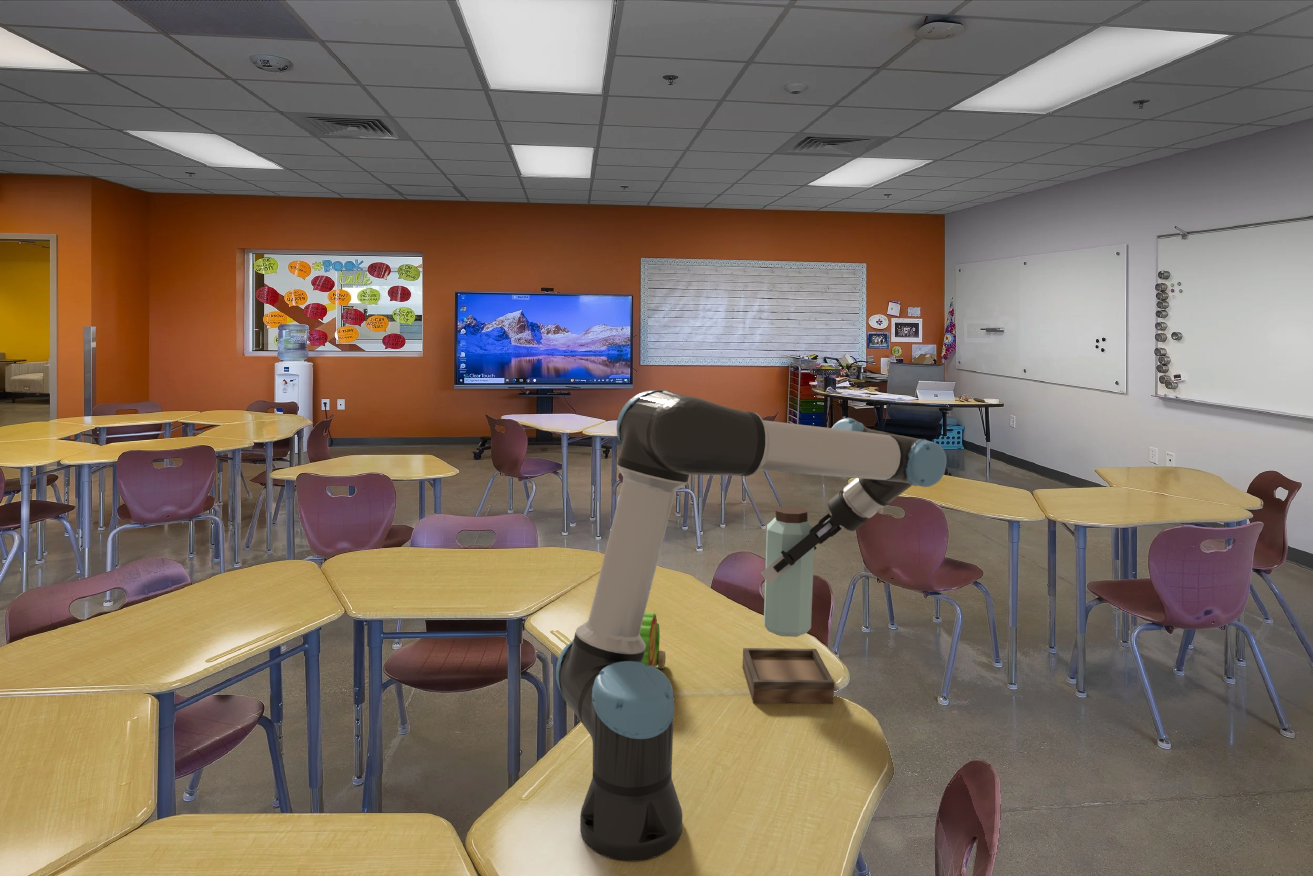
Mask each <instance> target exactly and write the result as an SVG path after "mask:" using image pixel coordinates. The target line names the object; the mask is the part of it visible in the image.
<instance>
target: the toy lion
mask: <svg viewBox="0 0 1313 876" xmlns="http://www.w3.org/2000/svg"><path fill="white" fill-rule="evenodd" d="M660 635H661V634H660V625H659V623H658V619H657V614H656V613H655V612H646V611H645V614H644V617H643V621H642V625H641V629H640V636H641V638H642V640H643V641H644V643H645V645H646V648H645V652H644V656H643V660H642V663H644V664H645V666H650V665H651V666H653V667H655V668H656V667H657V666H658V668H657V669H662V668H663V669H665V665H666V659H667V657H666V656H667V655H666V651H665V650H660Z"/></svg>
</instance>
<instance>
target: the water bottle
mask: <svg viewBox="0 0 1313 876" xmlns="http://www.w3.org/2000/svg"><path fill="white" fill-rule="evenodd" d="M774 509H775V516H774V518H773V519H772V520H770V522H769V523H767V524H766V537H765V538H766V543H765V548H766V549H765V569H766V568H767V567H768V566H770V565H771V564H772V563H773V562H774V561H776V560H777V559H778V558H779V557H780V556H782V553H781V552H782V551H784V552H788V551H789V550H790V549H791V548H793V547H794V546H795V545H796V544H798V543H799V542H800V541H801V540H802V539H804V538H805V537H806V536H807V535H809V531H810V530H811V529H812V528H813V527H814V526H813V524H811V522H810V521H809V520H808V510H807V508H803V507H799V506H791V505H790V506H788V505H782V506H778V507H775V508H774ZM814 556H815V550H814V547H813V548H812V549H811V550H810V551H808V552H807V553H806V554H805V555H803V556H802V557H801V558H800V559H799V560H797V561H796V562H795V564H794V565H792V566H791V567H790V568H788V569H787V570H786V571H785V572H783V573H782V574H781V575H780V576H778V577H777V578H776V579H775V580H773V581H772V582H771V583H770V584H769V583H768V582H767V580H766V579H765V578H764V606H763V607H764V608H763V611H764V612H763V623H764V627H765V629H766V631H768V632H770V633H772V634H774V635H776V636H779V637H790V638H792V637H793V638H797V637H800V636H803V635H805V634H807V633H808V632H809V631H810V630H811V629H812V615H813V614H812V613H813V611H812V608H813V607H812V606H813V587H814V586H813V585H814V583H813V582H814V564H815V563H814V561H815V558H814Z"/></svg>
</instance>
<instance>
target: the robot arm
mask: <svg viewBox="0 0 1313 876" xmlns="http://www.w3.org/2000/svg"><path fill="white" fill-rule="evenodd" d="M616 421H617V422H616V436H617V439H618V441H619V444H620V446H621V448H620V452H619V456H618V460H617V464H616V467H617V469H618V471H619V472H620V474H621V476H622V483H621V487H620V492H619V496H618V499H617V504H616V508H615V511H614V516H613V519H612V524H611V527H610V532H609V534H608V540H607V544H606V549H605V552H604V555H603V561H602V564H601V568H600V571H599V575H598V580H597V583H596V589H595V591H594V596H593V600H592V604H591V608H590V612H589V616H588V620H587V621H586V622H585V623H583V624H581V625H579V626H578V627H577V628H576V629H575V633H574V636H573V639H572V640H571V642H570V643H569V644H566V645H565V647H564V648H563V649H562V651H561V652H560V655H559V657H558V659H557V662H556V669H555V678H556V684H557V686H558V688H559V691H560V694H561V696H562V699H563V701H565V703H566V704H567V706H568V707H569V708H570V709H571V710H572V711H573V713H574V714H575V716H576V717H577V718H578V720H579V721H580V722H581V724H582V725H583V727H584V728H585V730H586V731H587V733H588V734H589V736H590V737H591V740H592V779H591V781H590V783H589V786H588V790H587V792H586V795H585V798H584V801H583V803H582V805H581V806H582V807H581V809H580V816H579V818H580V822H579V826H580V827H579V828H580V829H579V830H580V835H581V837H582V839H583V841H584V842H585V844H586V845H587V846H588V847H589V848H590V849H591V850H593V851H594V852H595V853H597V854H600V855H601V856H604V857H606V858H610V859H614V860H618V861H627V862H629V861H630V862H631V861H632V862H634V861H644V860H649V859H652V858H655V857H659V856H661V855H663V854H665V853H666V852H668V851H670V850H671V849H672V848H673V847H674V846H675V845H676V844H678V843H677V842H678V841H679V840H680V838H681V835H682V833H683V809H682V807H681V804H680V800H679V797H678V794H677V791H676V788H675V785H674V782H673V778H672V776H673V775H672V773H673V772H672V769H673V767H672V766H673V739H674V716H675V700H674V690H673V686H672V683H671V681H670V680H669V678H668V677H667V676H666V674H665V673H663V671H662V670H660V668H657V667H656V666H655V667H653V666H651V665H650V666H645V664H644V663H642V660H643V656H644V652H645V648H646V645H645V643H644V641H643V640H642V638H641V636H640V629H641V625H642V621H643V617H644V614H645V612H646V609H647V605H648V601H649V598H650V593H651V589H652V586H653V581H654V578H655V574H656V569H657V566H658V561H659V558H660V555H661V550H662V545H663V541H664V537H665V534H666V530H667V527H668V522H669V518H670V514H671V510H672V506H673V502H674V498H675V495H676V492H677V491H678V490H679V489H681V488H682V487H684V486H686V485H688V482H689V478H690V475H691V476H733V477H734V476H736V477H737V476H739V477H751V476H753V475H756V473H758V471H761V472H774V473H776V472H777V473H786V474H787V473H789V474H801V475H814V476H825V477H826V476H827V477H837V478H838V477H839V478H841V477H842V478H853V480H851V481H850V482H849V483H847V484H846V485H845V486H844V487H843V490H840V491H838V492H837V493H836V494H835V495H834V496H832V497H831V498H830V499H829V500H828V502H827V507H828V510H829V511H830V513H831V514H830V513H829V512H828V513H827V514H826V515H824V516H823V517H822V518H821V519H819V520H818V522H817V524H815V525H814V526H813V528H812V529H811V530H810V531H809V535H807V536H806V537H805V538H804V539H802V540H801V541H800V542H799V543H798V544H796V545H795V546H794V547H793V548H791V549H790V550H789V551H788V552H784V551H782V552H781V553H782V556H780V557H779V558H778V559H777V560H776V561H774V562H773V563H772V564H771V565H770V566H768V567H767V568H766V567H765V569H763V570H762V571H761V572H760V575H761V576H762V577H763V578H764V580H765V579H766V580H767V582H768V583H769V584H770V583H771V582H772V581H773V580H775V579H776V578H777V577H778V576H780V575H781V574H782V573H783V572H785V571H786V570H787V569H788V568H790V567H791V566H792V565H794V564H795V562H796V561H797V560H799V559H800V558H801V557H802V556H803V555H805V554H806V553H807V552H808V551H810V550H811V549H812V548H813V547H814V551H816V549H818V548H817V547H816V546H817V545H822V544H823V543H825V541H827V540H828V539H830V538H832V537H834V536H835V535H836V534H838V533H839V532H840V531H841V530H842V527H843V528H844V529H846V530H847V531H850V532H854V531H856V530H858V529H859V528H860V527H861V526H863V525H864V524H865V523H866V522H867V521H868V519H870V518H873V516H875V515H876V514H877V513H878V514H880V515H881V514H883V513H884V509H883V508H885V506H887V505H889V504H890V503H892V501H894V500H896V498H898V496H900V495H902V494H903V493H904V492H905V491H907V490H908V489H909V488H911V487H912V486H915V487H918V486H919V487H923V488H930V487H933V486H935V485H936V484H937V483H939V482H940V480H942V478H943V476H944V475H945V473H946V469H947V468H946V467H947V462H948V461H947V455H946V452H945V450H944V449H943V447H942V446H941V445H940V444H938V443H936V442H934V441H930V440H927V439H925V438H917V437H916V438H915V437H911V436H905V435H899V434H895V433H890V432H887V431H886V432H885V431H880V430H876V429H871V428H868V427H866V426H865V425H864V424H863V423H862V422H859V421H858V420H856V419H854V418H851V417H845V418H842V419H840V420H838V421H836V423H834V424H833V426H832V427H831V428H830V427H825V426H824V427H822V426H816V425H815V426H814V425H805V424H797V423H788V422H782V421H781V422H780V421H774V420H772V421H771V420H764V419H763V418H762V417H761V416H760V415H759V414H758V413H757V412H753V411H746V410H740V409H739V410H738V409H735V408H731V407H728V406H724V405H721V404H717V403H715V402H713V401H710V400H706V399H703V398H700V397H696V396H691V395H686V394H680V393H675V392H672V391H670V390H664V389H659V390H645V391H642V392H640V393H638V394H635V396H633V397H631V398H630V399H629V400H628V401H627V402H625V405H623V407H622V409H621V410H620V411H619V414H618V418H617V420H616Z"/></svg>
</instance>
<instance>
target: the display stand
mask: <svg viewBox="0 0 1313 876" xmlns="http://www.w3.org/2000/svg"><path fill="white" fill-rule="evenodd" d="M741 667H742V670H743V674H745V675H744V677H745V680H746V685H747V687H748V690H749V695H750V698H751V700H752V703H753V704H796V705H797V704H803V705H804V704H808V705H809V704H812V705H814V704H816V705H818V704H819V705H820V704H821V705H822V704H823V705H824V704H825V705H828V704H829V705H831V704H832V705H833V704H834V699H835V698H834V697H835V696H834V695H835V694H834V693H835V680H834V679H833V677H832V675H831V673H830V671H829V670H828V668H827V666H826V664H825V663H824V660H823V658H822V657H821V655H820V653H819V652H818V650H817V648H781V647H779V648H778V647H777V648H769V647H767V648H766V647H765V648H763V647H758V648H756V647H755V648H754V647H748V648H747V647H743V648H742V666H741ZM833 696H834V697H833Z"/></svg>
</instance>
